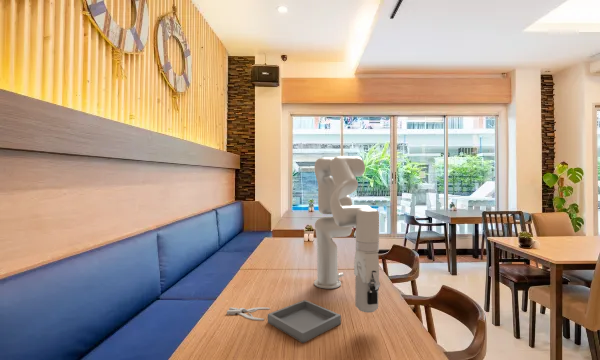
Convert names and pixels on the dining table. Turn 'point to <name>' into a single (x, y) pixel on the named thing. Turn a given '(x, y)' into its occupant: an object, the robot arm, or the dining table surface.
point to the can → (363, 296)
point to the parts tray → (304, 320)
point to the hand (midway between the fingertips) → (366, 298)
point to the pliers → (239, 311)
